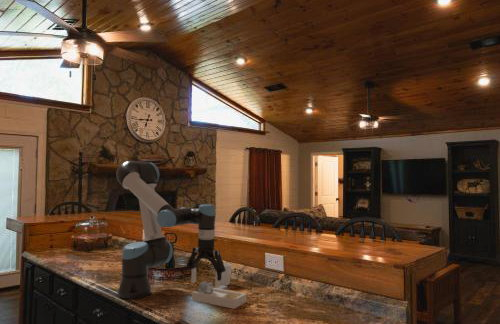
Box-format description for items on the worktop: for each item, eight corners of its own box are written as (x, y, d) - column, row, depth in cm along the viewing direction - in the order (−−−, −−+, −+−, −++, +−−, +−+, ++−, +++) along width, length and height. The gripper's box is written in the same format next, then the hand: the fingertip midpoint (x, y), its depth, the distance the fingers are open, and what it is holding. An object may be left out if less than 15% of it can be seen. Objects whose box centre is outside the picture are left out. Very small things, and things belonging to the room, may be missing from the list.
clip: (198, 293, 171) (199, 283, 171) (205, 290, 175) (205, 281, 175) (206, 295, 169) (206, 284, 169) (212, 292, 172) (212, 282, 173)
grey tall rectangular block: (211, 293, 178) (211, 289, 179) (221, 289, 185) (221, 285, 185) (217, 294, 177) (218, 290, 177) (227, 290, 184) (227, 286, 184)
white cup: (213, 285, 192) (213, 265, 192) (219, 281, 199) (219, 262, 200) (227, 286, 189) (227, 266, 190) (233, 282, 197) (233, 263, 197)
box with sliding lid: (192, 299, 169) (192, 291, 169) (205, 293, 178) (205, 286, 178) (234, 308, 158) (234, 300, 158) (246, 302, 167) (246, 293, 167)
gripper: (180, 236, 176) (178, 282, 175) (224, 242, 163) (223, 291, 162) (190, 234, 182) (189, 278, 181) (233, 240, 170) (232, 287, 169)
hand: (205, 284), depth 172 cm, fingers open, 13 cm apart
